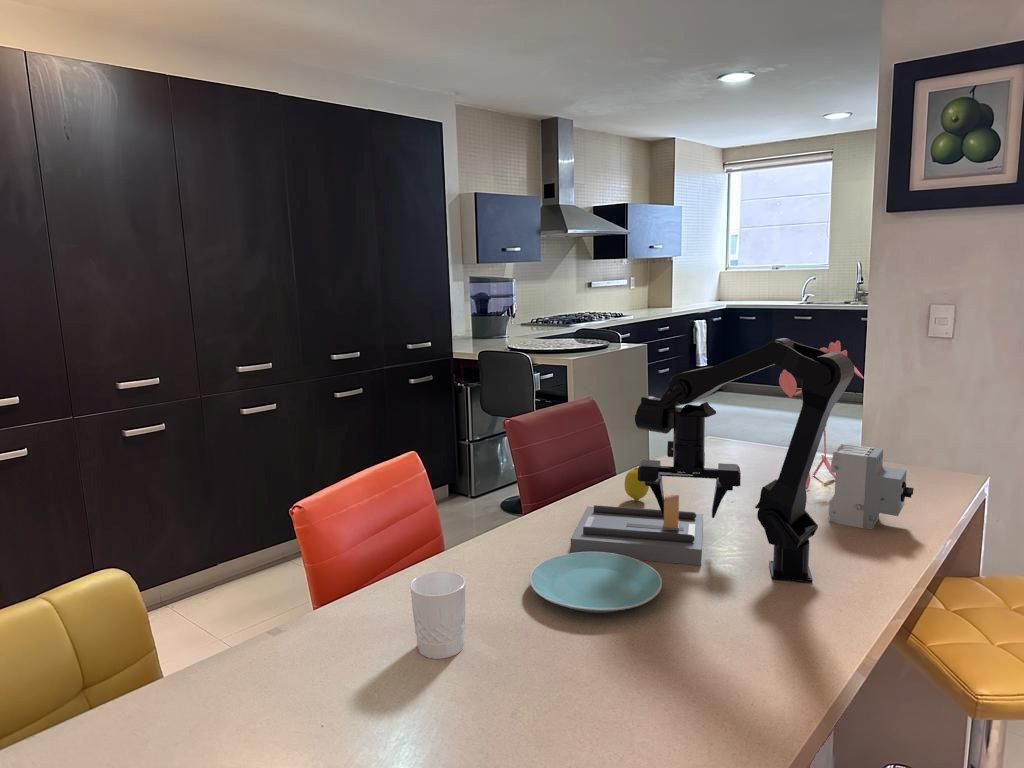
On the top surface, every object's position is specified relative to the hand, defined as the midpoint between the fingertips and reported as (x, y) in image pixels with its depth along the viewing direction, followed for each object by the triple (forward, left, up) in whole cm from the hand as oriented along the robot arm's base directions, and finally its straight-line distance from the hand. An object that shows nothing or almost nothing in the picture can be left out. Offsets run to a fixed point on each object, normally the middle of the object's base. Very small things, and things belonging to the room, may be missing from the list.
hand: (688, 515), depth 132 cm
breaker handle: (0, +3, -3) cm, 4 cm away
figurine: (+42, -31, -6) cm, 52 cm away
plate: (-23, +14, -6) cm, 28 cm away
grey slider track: (0, +9, -3) cm, 9 cm away
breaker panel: (0, +9, -6) cm, 11 cm away
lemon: (+23, +12, -6) cm, 27 cm away
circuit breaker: (+19, -36, -6) cm, 41 cm away
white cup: (-45, +33, -6) cm, 56 cm away
